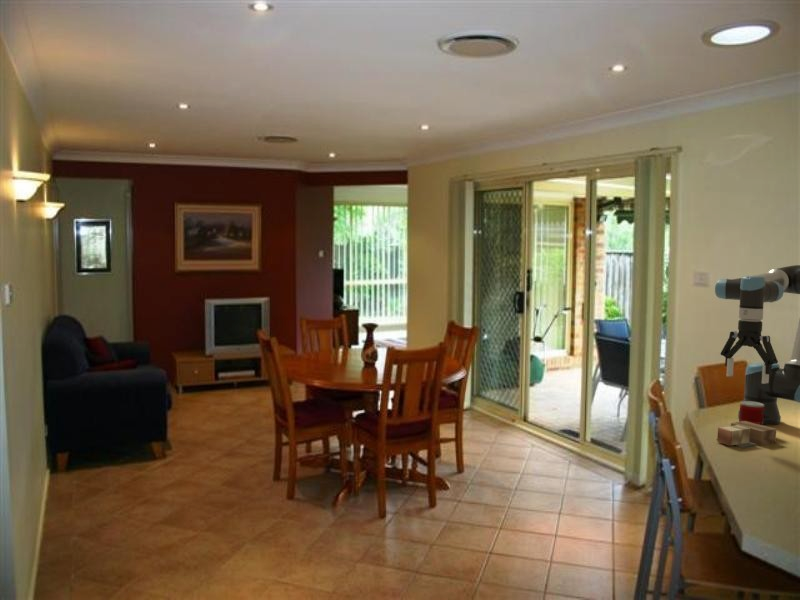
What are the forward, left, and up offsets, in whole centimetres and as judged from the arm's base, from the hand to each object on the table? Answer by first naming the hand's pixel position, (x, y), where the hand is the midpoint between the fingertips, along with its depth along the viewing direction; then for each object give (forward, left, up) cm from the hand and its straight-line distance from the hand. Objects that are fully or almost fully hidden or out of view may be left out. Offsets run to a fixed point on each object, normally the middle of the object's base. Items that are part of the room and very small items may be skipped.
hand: (746, 379), depth 239 cm
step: (-5, 0, -22) cm, 23 cm away
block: (+1, 0, -19) cm, 19 cm away
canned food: (-14, -7, -23) cm, 28 cm away
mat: (+4, 0, -22) cm, 23 cm away
